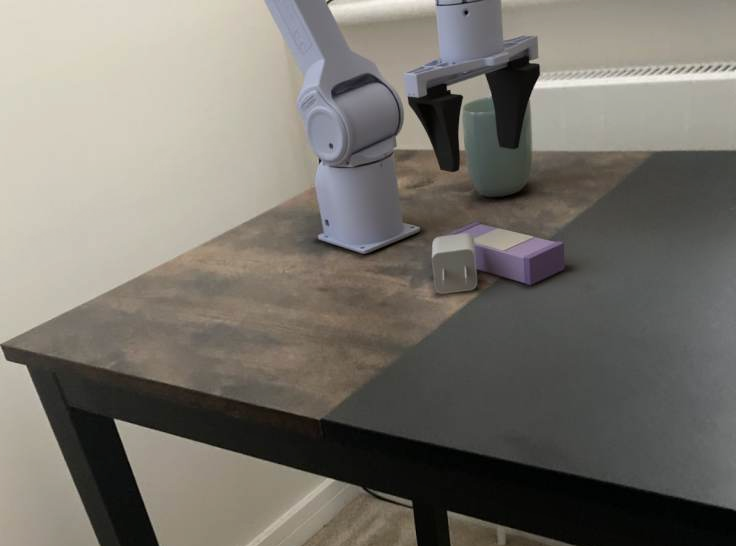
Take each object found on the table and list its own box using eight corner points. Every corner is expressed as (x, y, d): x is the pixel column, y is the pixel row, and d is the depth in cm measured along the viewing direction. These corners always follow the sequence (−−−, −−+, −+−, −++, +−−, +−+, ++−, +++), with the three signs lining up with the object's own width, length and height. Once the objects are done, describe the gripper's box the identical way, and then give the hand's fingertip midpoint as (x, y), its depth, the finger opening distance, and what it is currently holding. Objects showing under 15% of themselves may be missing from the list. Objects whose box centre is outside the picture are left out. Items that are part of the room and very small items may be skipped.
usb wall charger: (476, 272, 88) (473, 232, 85) (478, 300, 82) (475, 258, 80) (436, 277, 88) (431, 237, 86) (435, 305, 83) (430, 264, 81)
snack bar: (445, 260, 92) (442, 235, 90) (477, 246, 94) (475, 221, 92) (530, 285, 83) (529, 258, 81) (564, 269, 85) (564, 242, 83)
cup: (539, 196, 103) (535, 104, 98) (471, 207, 104) (464, 116, 98) (529, 177, 110) (525, 90, 104) (466, 188, 110) (458, 101, 105)
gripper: (432, 17, 73) (449, 186, 80) (560, -20, 78) (564, 141, 86) (381, 17, 78) (401, 176, 86) (505, -18, 83) (513, 134, 91)
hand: (479, 158), depth 86 cm, fingers open, 7 cm apart
